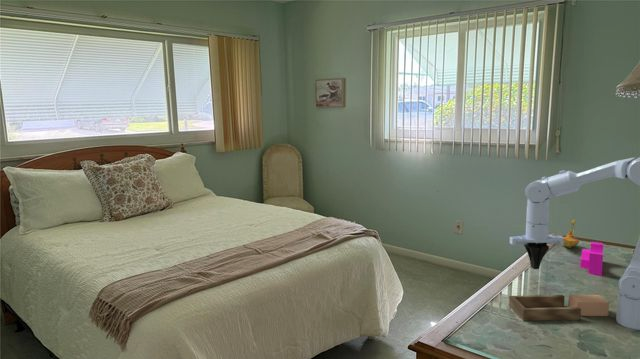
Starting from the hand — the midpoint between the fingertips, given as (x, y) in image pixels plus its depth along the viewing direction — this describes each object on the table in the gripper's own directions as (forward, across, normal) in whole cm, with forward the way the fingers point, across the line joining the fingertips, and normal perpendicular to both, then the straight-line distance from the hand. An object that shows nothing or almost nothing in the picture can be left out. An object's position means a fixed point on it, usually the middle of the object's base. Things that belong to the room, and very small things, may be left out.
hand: (534, 268), depth 129 cm
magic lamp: (+10, -34, -44) cm, 56 cm away
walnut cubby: (+9, +1, +9) cm, 13 cm away
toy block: (+10, -32, -25) cm, 41 cm away
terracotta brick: (+10, -11, +9) cm, 17 cm away
